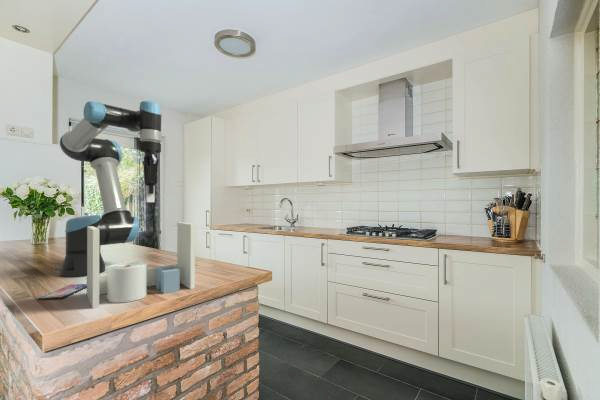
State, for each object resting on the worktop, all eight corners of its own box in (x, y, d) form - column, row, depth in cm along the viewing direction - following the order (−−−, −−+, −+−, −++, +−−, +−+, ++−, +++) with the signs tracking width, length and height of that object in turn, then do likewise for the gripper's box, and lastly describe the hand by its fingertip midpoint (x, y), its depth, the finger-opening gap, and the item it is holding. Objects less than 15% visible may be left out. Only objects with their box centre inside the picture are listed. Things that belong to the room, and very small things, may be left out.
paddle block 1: (156, 288, 103) (156, 267, 103) (171, 285, 106) (171, 265, 106) (158, 290, 100) (158, 269, 100) (173, 287, 104) (173, 267, 104)
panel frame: (86, 295, 94) (86, 226, 94) (180, 279, 113) (180, 221, 113) (92, 308, 83) (93, 229, 83) (194, 288, 102) (195, 224, 102)
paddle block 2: (160, 291, 98) (160, 270, 98) (176, 288, 102) (176, 268, 102) (163, 294, 96) (163, 272, 96) (179, 290, 99) (179, 270, 99)
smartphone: (36, 298, 90) (70, 284, 105) (36, 301, 90) (70, 287, 105) (62, 297, 90) (92, 283, 105) (62, 300, 90) (92, 286, 105)
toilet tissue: (106, 305, 85) (106, 270, 85) (107, 294, 96) (107, 263, 96) (148, 299, 91) (148, 266, 91) (144, 289, 101) (144, 259, 101)
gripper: (135, 143, 119) (135, 202, 119) (144, 138, 110) (144, 202, 110) (155, 145, 124) (155, 202, 124) (165, 141, 114) (165, 202, 114)
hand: (150, 202), depth 117 cm, fingers closed
